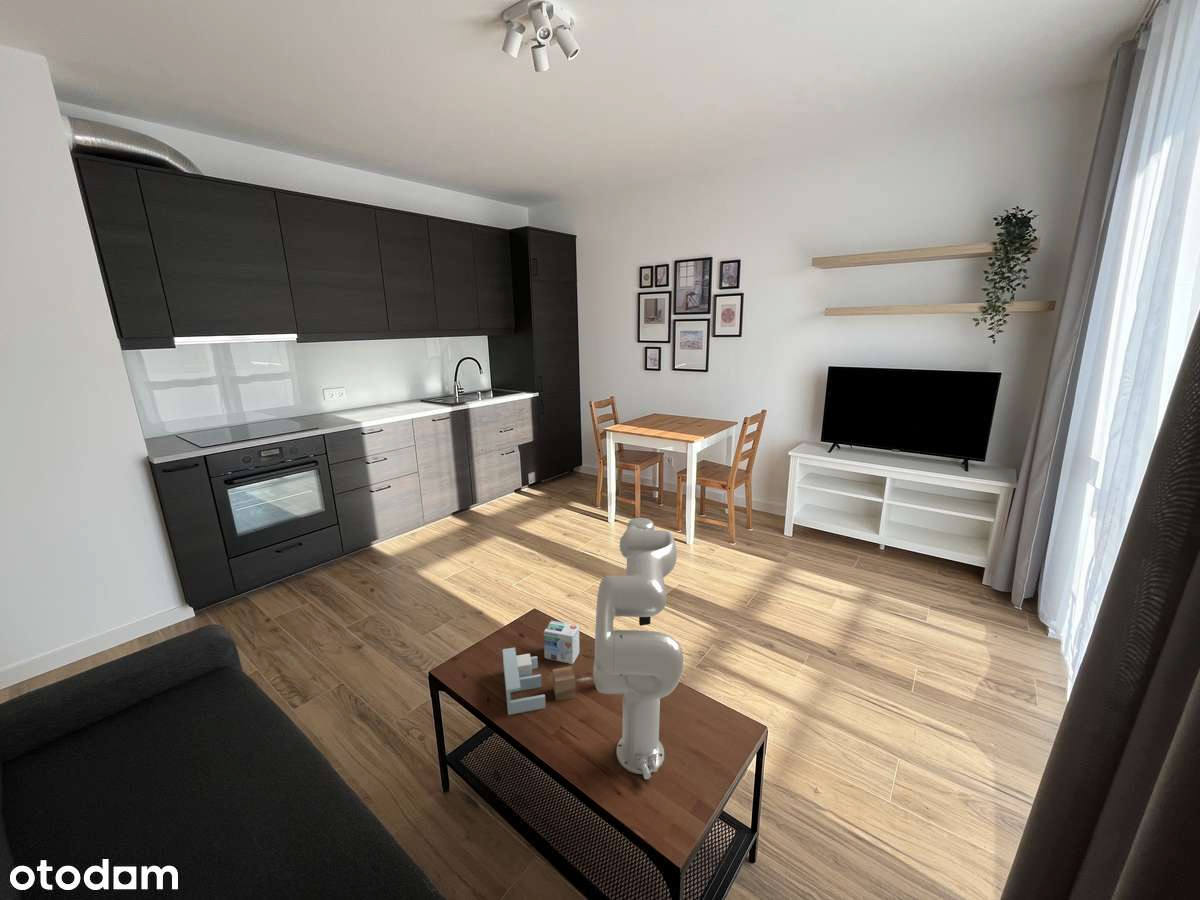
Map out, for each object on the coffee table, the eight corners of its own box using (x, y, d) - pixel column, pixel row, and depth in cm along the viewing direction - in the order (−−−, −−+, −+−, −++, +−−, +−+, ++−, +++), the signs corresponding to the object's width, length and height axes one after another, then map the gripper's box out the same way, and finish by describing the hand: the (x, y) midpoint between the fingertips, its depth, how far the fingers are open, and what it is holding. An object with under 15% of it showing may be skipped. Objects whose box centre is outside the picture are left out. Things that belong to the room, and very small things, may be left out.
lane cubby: (545, 707, 148) (544, 683, 146) (508, 715, 145) (506, 690, 143) (537, 666, 166) (536, 643, 163) (503, 672, 163) (502, 649, 161)
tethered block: (608, 691, 154) (607, 671, 153) (556, 701, 150) (555, 681, 149) (603, 679, 159) (603, 660, 158) (553, 688, 156) (552, 669, 154)
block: (532, 683, 158) (531, 664, 156) (513, 686, 157) (512, 667, 155) (530, 671, 163) (529, 653, 161) (512, 675, 162) (511, 656, 160)
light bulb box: (544, 658, 169) (543, 631, 167) (551, 646, 176) (550, 619, 173) (573, 664, 166) (572, 636, 164) (580, 652, 173) (579, 625, 170)
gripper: (663, 574, 133) (662, 630, 138) (642, 546, 150) (641, 597, 154) (637, 577, 132) (636, 634, 136) (618, 549, 148) (618, 601, 152)
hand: (639, 614), depth 145 cm, fingers open, 9 cm apart
